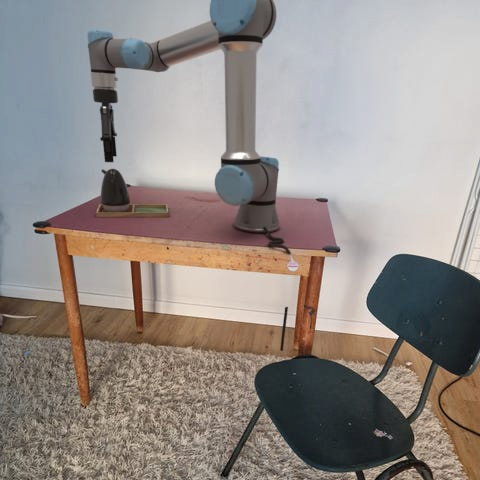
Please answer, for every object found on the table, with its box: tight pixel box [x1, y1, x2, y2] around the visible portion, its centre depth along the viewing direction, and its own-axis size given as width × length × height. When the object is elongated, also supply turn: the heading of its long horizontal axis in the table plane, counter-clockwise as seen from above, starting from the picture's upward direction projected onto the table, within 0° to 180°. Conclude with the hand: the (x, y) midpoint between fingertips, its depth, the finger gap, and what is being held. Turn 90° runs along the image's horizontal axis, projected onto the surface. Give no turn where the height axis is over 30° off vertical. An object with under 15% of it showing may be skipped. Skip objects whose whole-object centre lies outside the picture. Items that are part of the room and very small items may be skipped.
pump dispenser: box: [100, 168, 131, 212], centre depth 149 cm, size 10×10×15 cm
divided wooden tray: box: [95, 203, 170, 218], centre depth 153 cm, size 13×25×2 cm, turn 100°
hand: (111, 159), depth 144 cm, fingers open, 13 cm apart
